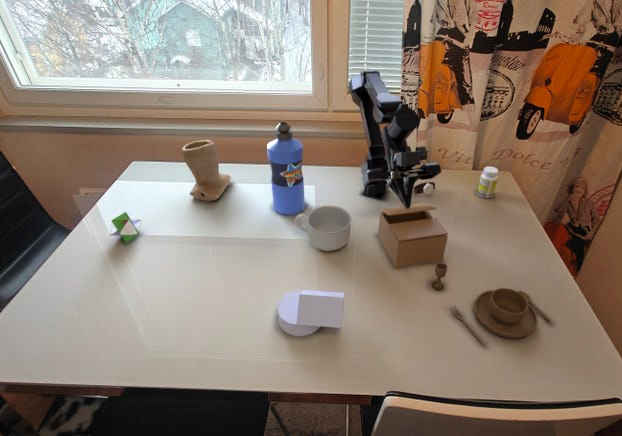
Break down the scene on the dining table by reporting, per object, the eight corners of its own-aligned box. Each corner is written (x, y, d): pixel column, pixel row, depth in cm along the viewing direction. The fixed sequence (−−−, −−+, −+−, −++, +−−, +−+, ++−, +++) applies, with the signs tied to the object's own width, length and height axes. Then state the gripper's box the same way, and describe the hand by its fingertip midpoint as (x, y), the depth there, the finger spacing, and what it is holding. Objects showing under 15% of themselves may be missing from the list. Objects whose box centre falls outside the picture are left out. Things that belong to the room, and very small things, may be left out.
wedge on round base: (344, 304, 81) (283, 299, 82) (345, 280, 77) (281, 276, 78) (341, 339, 74) (274, 334, 75) (341, 315, 70) (271, 310, 71)
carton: (377, 235, 101) (380, 209, 96) (420, 229, 103) (424, 203, 98) (395, 268, 90) (398, 240, 86) (442, 260, 93) (448, 233, 88)
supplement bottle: (491, 190, 120) (497, 166, 115) (494, 198, 116) (501, 173, 111) (475, 189, 120) (481, 165, 116) (478, 197, 117) (484, 172, 112)
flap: (380, 210, 96) (380, 209, 96) (424, 204, 98) (424, 203, 98) (389, 215, 90) (389, 214, 90) (436, 209, 92) (436, 207, 92)
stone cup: (200, 177, 126) (190, 133, 118) (235, 179, 125) (228, 135, 117) (179, 201, 114) (167, 155, 106) (218, 204, 113) (209, 157, 104)
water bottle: (311, 208, 111) (308, 125, 97) (282, 218, 107) (274, 133, 93) (295, 194, 118) (290, 114, 103) (267, 203, 113) (258, 121, 99)
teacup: (356, 237, 100) (358, 211, 96) (339, 262, 92) (339, 235, 88) (309, 223, 105) (308, 198, 100) (289, 246, 97) (286, 220, 92)
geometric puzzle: (100, 232, 98) (105, 216, 92) (123, 218, 103) (129, 202, 97) (122, 252, 98) (128, 237, 93) (143, 237, 103) (150, 222, 98)
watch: (419, 198, 116) (421, 188, 114) (409, 191, 119) (410, 181, 117) (438, 191, 119) (440, 181, 117) (427, 185, 123) (429, 175, 121)
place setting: (489, 355, 71) (496, 334, 68) (426, 284, 86) (430, 264, 83) (558, 325, 77) (568, 304, 73) (488, 263, 92) (494, 244, 88)
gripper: (368, 138, 87) (380, 205, 84) (444, 131, 91) (458, 195, 88) (357, 155, 98) (368, 215, 95) (425, 148, 101) (438, 206, 99)
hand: (408, 207), depth 94 cm, fingers closed
